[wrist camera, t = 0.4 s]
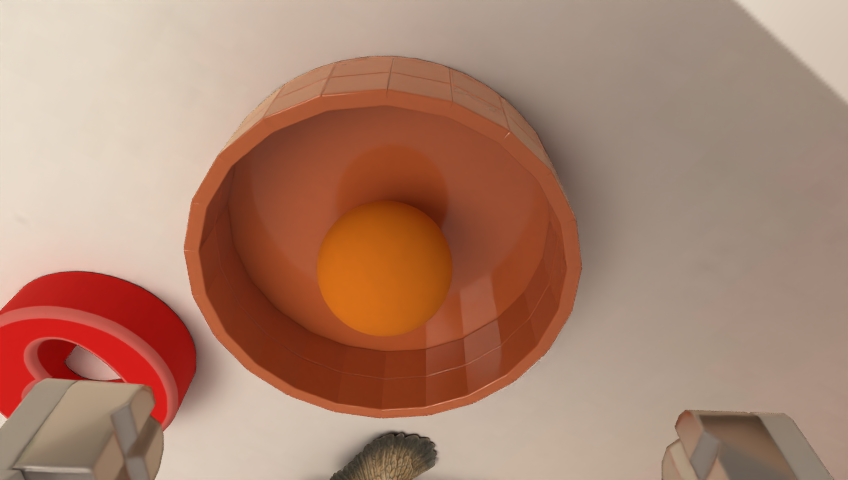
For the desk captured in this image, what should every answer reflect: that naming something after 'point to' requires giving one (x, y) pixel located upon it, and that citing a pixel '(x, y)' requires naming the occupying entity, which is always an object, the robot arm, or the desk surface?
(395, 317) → the orange
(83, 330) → the decorative ornament
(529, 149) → the pot
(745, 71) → the desk surface
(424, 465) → the eagle figurine
